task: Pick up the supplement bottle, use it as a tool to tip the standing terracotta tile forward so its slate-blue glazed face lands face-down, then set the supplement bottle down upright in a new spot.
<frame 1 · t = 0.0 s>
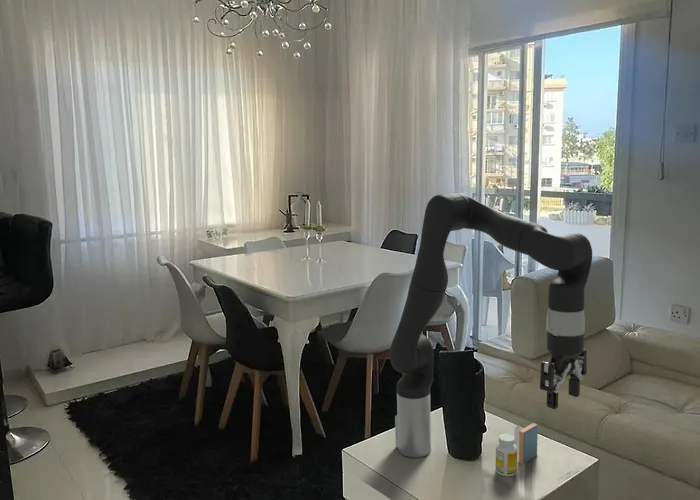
hand: (563, 401, 124), 29 cm above the table, tool pointing down, fingers open, 8 cm apart
tile: (525, 457, 157), on the table
supplement bottle: (506, 472, 151), on the table
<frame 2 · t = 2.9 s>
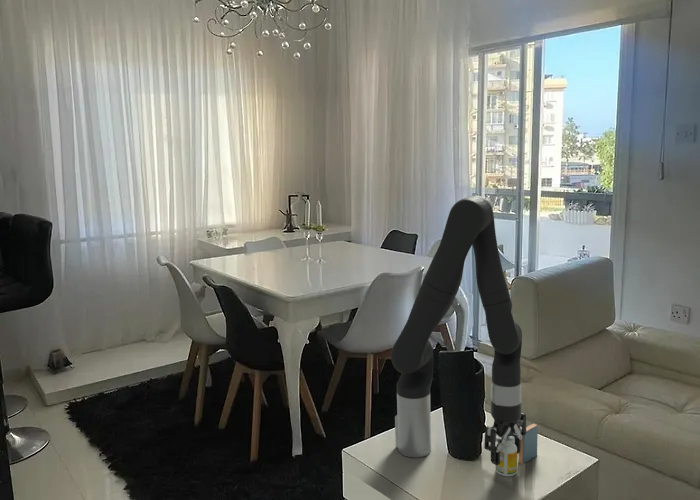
hand: (505, 457, 149), 4 cm above the table, tool pointing down, fingers open, 8 cm apart
tile: (525, 458, 157), on the table, touching gripper, hand
everything else where it was.
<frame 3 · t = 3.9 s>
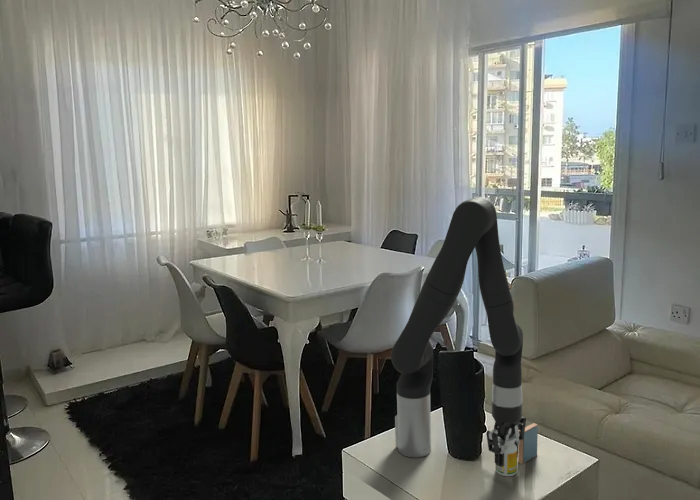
hand: (506, 460, 150), 3 cm above the table, tool pointing down, fingers closed on supplement bottle, 5 cm apart
tile: (525, 457, 157), on the table
supplement bottle: (506, 472, 151), on the table, touching gripper
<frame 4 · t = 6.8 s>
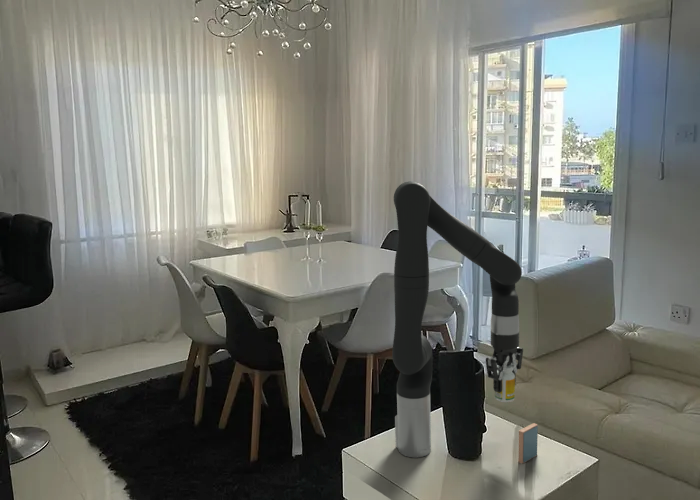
hand: (504, 388, 159), 18 cm above the table, tool pointing down, fingers closed on supplement bottle, 5 cm apart
supplement bottle: (504, 399, 160), point 15 cm above the table, touching gripper
everything else where it was.
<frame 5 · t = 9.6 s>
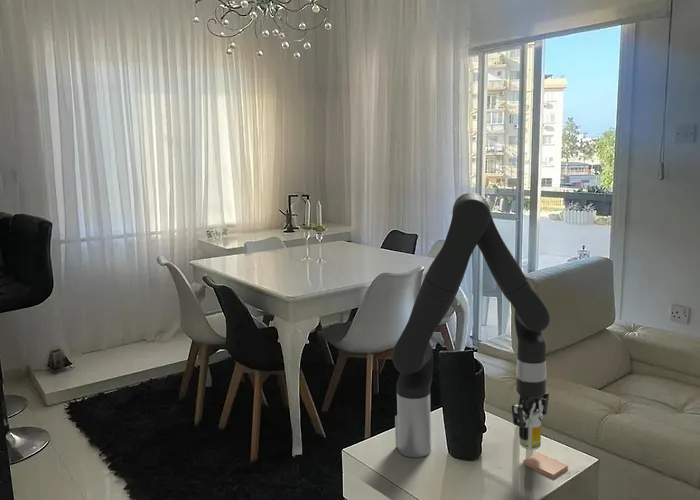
hand: (530, 434, 155), 7 cm above the table, tool pointing down, fingers closed on supplement bottle, 5 cm apart
tile: (530, 456, 155), point 1 cm above the table, tilted 90°
supplement bottle: (530, 446, 155), point 4 cm above the table, touching gripper
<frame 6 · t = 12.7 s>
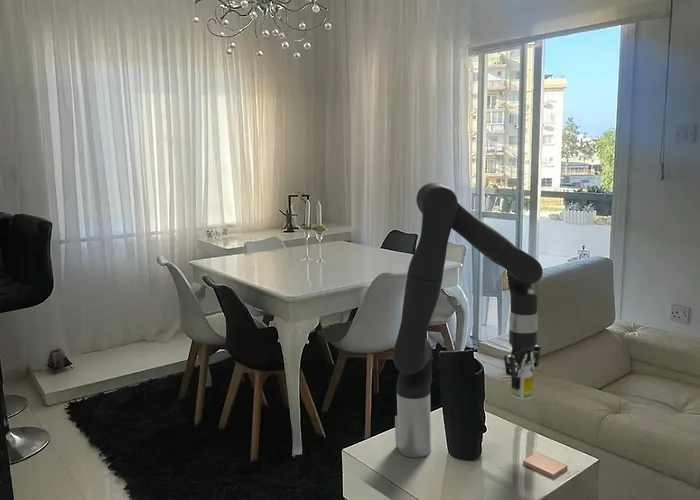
hand: (522, 385, 162), 17 cm above the table, tool pointing down, fingers closed on supplement bottle, 5 cm apart
supplement bottle: (522, 396, 162), point 14 cm above the table, touching gripper
everything else where it was.
when the fingers open (4 cm above the table, at t = 15.6 s): supplement bottle drops 1 cm, on the table.
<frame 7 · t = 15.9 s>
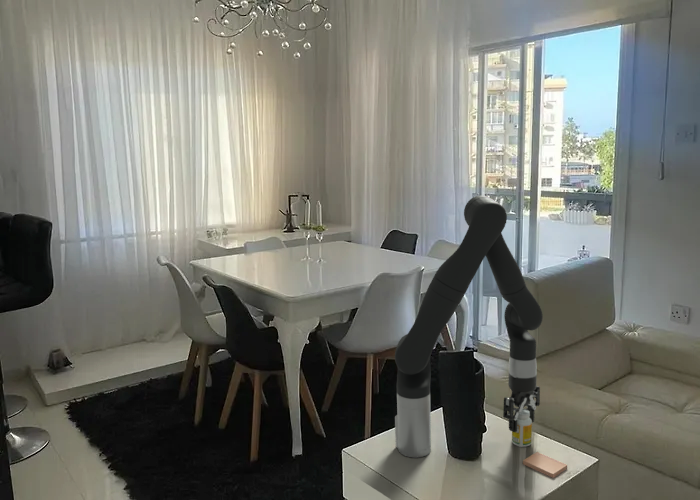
hand: (521, 426, 164), 5 cm above the table, tool pointing down, fingers open, 8 cm apart
supplement bottle: (521, 443, 165), on the table
everything else where it was.
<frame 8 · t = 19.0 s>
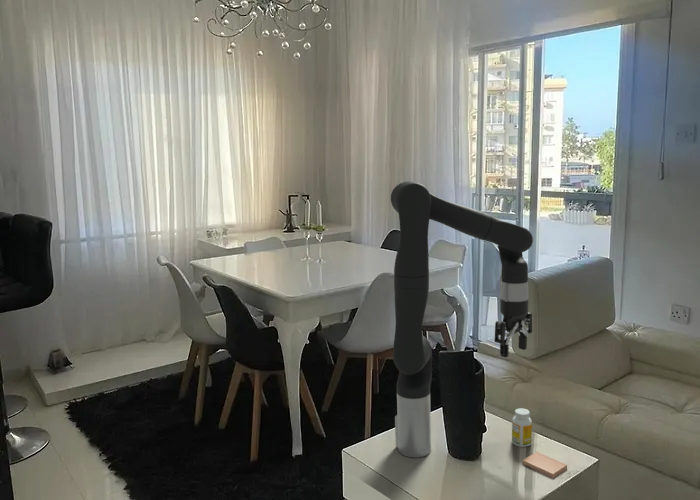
hand: (513, 352, 163), 26 cm above the table, tool pointing down, fingers open, 8 cm apart
nothing on the table moved.
at the end: tile point 1.0 cm above the table; supplement bottle inside the target area (0.1 cm from its centre), on the table; supplement bottle tilted 0° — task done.
